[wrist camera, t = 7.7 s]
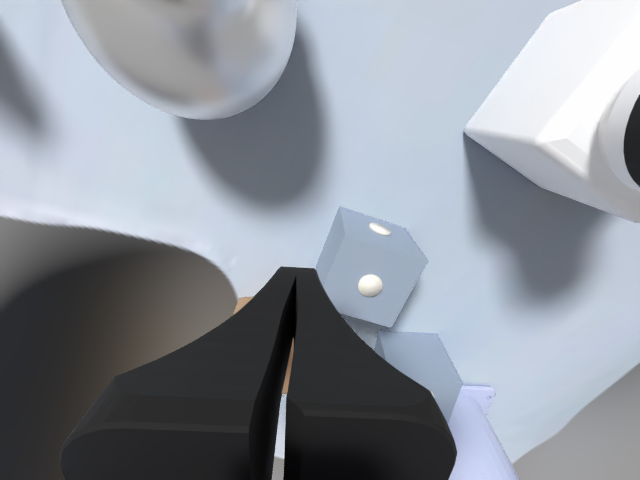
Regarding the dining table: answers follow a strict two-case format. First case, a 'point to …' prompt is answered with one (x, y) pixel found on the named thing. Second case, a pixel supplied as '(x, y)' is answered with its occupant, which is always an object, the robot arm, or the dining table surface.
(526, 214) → the dining table surface
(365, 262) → the dotted block
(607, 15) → the medicine bottle
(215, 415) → the robot arm
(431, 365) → the dotted block
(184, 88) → the silver round ornament
